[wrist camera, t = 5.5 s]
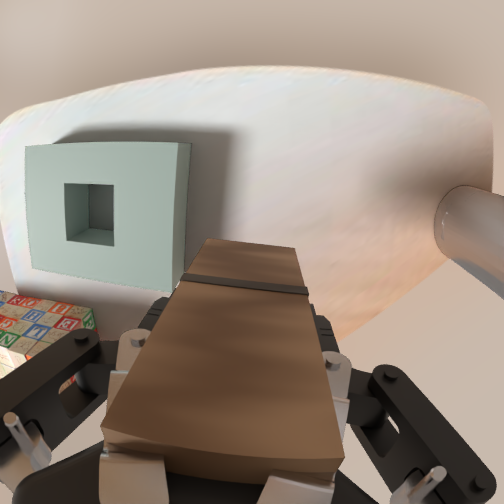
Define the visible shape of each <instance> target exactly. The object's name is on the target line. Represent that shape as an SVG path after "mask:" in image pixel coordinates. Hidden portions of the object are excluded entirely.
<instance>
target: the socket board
mask: <svg viewBox="0 0 504 504" xmlns="http://www.w3.org/2000/svg"><path fill="white" fill-rule="evenodd" d="M191 144H192V143H173V142H81V143H61V144H47V145H35V146H25V201H26V218H27V229H28V239H29V248H30V255H31V263H32V268H33V269H38V270H42V271H47V272H52V273H57V274H63V275H68V276H73V277H78V278H84V279H89V280H95V281H101V282H106V283H112V284H118V285H124V286H130V287H137V288H143V289H150V290H156V291H163V292H170V293H172V292H173V290H174V289H175V287H176V285H177V284H178V282H179V280H180V278H181V276H182V275H183V273H184V257H185V231H186V211H187V195H188V180H189V167H190V155H191ZM89 184H106V185H114V231H113V230H103V229H94V228H89Z"/></svg>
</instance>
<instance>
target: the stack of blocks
mask: <svg viewBox="0 0 504 504" xmlns="http://www.w3.org/2000/svg"><path fill="white" fill-rule="evenodd" d="M80 328H88V329H92V330H94V331H96V332H97V329H96V326H95V321H94V316H93V311H92V308H87V307H81V306H76V305H73V304H67V303H62V302H56V301H51V300H46V299H43V300H42V299H37V298H32V297H26V296H21V295H16V294H13V293H9V292H4V291H0V377H1V378H3V377H4V376H6V375H7V374H9V373H10V372H12V371H13V370H14V369H16V368H17V367H19V366H20V365H22V364H23V363H25V362H26V361H27V360H29V359H30V358H32V357H33V356H35V355H36V354H38V353H39V352H41V351H42V350H44V349H45V348H47V347H48V346H50V345H51V344H53V343H54V342H56V341H57V340H59V339H60V338H62V337H63V336H65V335H66V334H68V333H69V332H71V331H73V330H75V329H80ZM75 380H76V378H75V375H73V376H72V377H71V378H70V379H68V380H67V381H66V382H65V383H63V384H62V386H61V387H60V389H59V394H60V393H61V392H62V391H63V390H64V389H66V388H67V387H68V386H69V385H71V384H72V383H73V382H74V381H75Z"/></svg>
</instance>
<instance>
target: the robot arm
mask: <svg viewBox="0 0 504 504" xmlns="http://www.w3.org/2000/svg"><path fill="white" fill-rule="evenodd" d="M434 234H435V239H436V243H437V245H438V247H439V249H440V250H441V252H442V253H443V254H444V255H446V256H447V257H448V258H450V259H451V260H453V261H454V262H455V263H457V264H458V265H460V266H461V267H462V268H464V269H465V270H466V271H467V272H469V273H470V274H472V275H473V276H474V277H475V278H477V279H478V280H479V281H481V282H482V283H483V284H485V285H486V286H487V287H488V288H490V289H491V290H492V291H494V292H495V293H496V294H497V295H499V296H500V297H501V298H502V299H504V196H501V195H498V194H494V193H492V192H489V191H485V190H482V189H478V188H475V187H471V186H459V187H456V188H454V189H453V190H451V191H450V192H449V193H448V194H447V195H446V196H445V197H444V198H443V200H442V201H441V203H440V205H439V207H438V209H437V213H436V216H435V222H434ZM175 290H176V288H175V289H174V291H173V292H172V294H171V296H170V297H169V298H167V297H162V298H160V299H158V300H157V301H155V302H154V303H153V305H152V306H151V309H149V311H148V312H147V314H146V316H145V317H144V319H143V320H142V322H141V323H140V325H139V326H138V328H137V329H132V330H128V331H126V332H124V333H123V334H122V335H121V337H120V340H119V341H100V339H99V335H98V333H97V332H96V331H94V330H92V329H88V328H80V329H75V330H73V331H71V332H69V333H68V334H66V335H65V336H63V337H62V338H60V339H59V340H57V341H56V342H54V343H53V344H51V345H50V346H48V347H47V348H45V349H44V350H42V351H41V352H39V353H38V354H36V355H35V356H33V357H32V358H30V359H29V360H27V361H26V362H25V363H23V364H22V365H20V366H19V367H17V368H16V369H14V370H13V371H12V372H10V373H9V374H7V375H6V376H4V377H3V378H1V379H0V482H2V483H3V484H5V485H6V486H7V487H8V488H9V489H10V490H11V491H12V493H13V498H12V504H379V503H378V502H376V501H375V500H374V499H373V498H371V497H370V496H369V495H368V494H367V493H365V492H364V491H363V490H362V489H361V488H359V487H358V486H357V485H356V484H355V483H353V482H352V481H351V480H350V479H349V478H348V477H346V476H345V475H344V474H343V473H342V472H341V471H340V470H338V469H337V471H336V472H294V471H286V470H280V469H274V468H273V469H272V471H271V473H270V476H269V478H268V480H267V482H266V485H265V484H250V483H238V482H228V481H220V480H213V479H206V478H199V477H193V476H188V475H182V474H177V473H172V472H167V470H166V465H165V460H164V456H163V454H159V453H149V452H142V451H137V450H132V449H128V448H124V447H121V446H117V445H114V444H111V443H107V442H106V440H105V437H104V440H103V441H101V442H99V443H97V444H95V445H93V446H91V447H89V448H87V449H85V450H83V451H81V452H79V453H76V454H74V455H73V456H70V457H68V458H66V459H64V460H61V461H59V462H57V463H55V464H53V465H50V466H49V463H50V461H51V457H52V455H51V452H52V451H53V450H54V449H55V448H56V447H57V446H58V445H59V444H60V443H61V442H62V441H63V440H64V439H65V438H66V437H68V436H69V435H70V434H71V433H72V432H73V431H74V430H75V429H76V428H77V427H78V426H79V425H80V424H81V423H82V422H83V421H84V420H85V419H86V418H87V417H88V416H90V415H91V414H92V413H93V412H94V411H95V410H96V409H97V408H98V407H99V406H100V405H101V404H102V403H103V402H104V401H105V400H106V399H107V409H106V414H107V412H108V410H109V408H110V406H111V404H112V402H113V400H114V398H115V396H116V395H117V393H118V391H119V389H120V387H121V385H122V383H123V382H124V380H125V378H126V376H127V374H128V372H129V371H130V369H131V367H132V365H133V363H134V361H135V360H136V358H137V356H138V354H139V352H140V351H141V349H142V347H143V345H144V344H145V342H146V340H147V338H148V336H149V335H150V333H151V331H152V329H153V328H154V326H155V324H156V322H157V321H158V319H159V317H160V316H161V314H162V312H163V310H164V309H165V307H166V305H167V304H168V302H169V300H170V299H171V297H172V295H173V293H174V292H175ZM310 307H311V311H312V315H313V319H314V323H315V327H316V331H317V335H318V339H319V343H320V347H321V351H322V355H323V359H324V364H325V368H326V372H327V376H328V381H329V385H330V389H331V394H332V398H333V403H334V407H335V412H336V416H337V421H338V426H339V430H340V435H341V440H342V442H343V437H344V431H345V426H346V423H348V424H350V426H351V428H352V430H353V432H354V433H355V435H356V437H357V438H358V440H359V441H360V443H361V444H362V446H363V448H364V450H365V451H366V453H367V454H368V456H369V458H370V459H371V461H372V462H373V464H374V466H375V467H376V469H377V470H378V472H379V473H380V475H381V477H382V478H383V480H384V481H385V483H386V485H387V486H388V488H389V490H390V491H391V493H392V495H391V498H390V504H485V503H486V502H487V501H488V500H489V499H491V497H492V496H493V495H494V494H495V491H496V487H497V486H496V485H497V484H496V479H495V477H494V475H493V474H492V472H490V470H489V469H488V468H487V466H486V465H485V464H484V463H483V462H482V461H481V459H480V458H479V457H478V456H477V455H476V453H475V452H474V451H473V450H472V449H471V448H470V447H469V445H468V444H467V443H466V442H465V441H464V439H463V438H462V437H461V436H460V435H459V434H458V432H457V431H456V430H455V429H454V428H453V427H452V426H451V424H450V423H449V422H448V421H447V420H446V419H445V418H444V416H443V415H442V414H441V413H440V412H439V411H438V410H437V409H436V407H435V406H434V405H433V404H432V403H431V402H430V401H429V400H428V398H427V397H426V396H425V395H424V394H423V393H422V392H421V391H420V390H419V388H418V387H417V386H416V385H415V384H414V383H413V382H412V381H411V380H410V378H408V376H407V375H406V374H405V373H404V372H403V371H402V370H400V369H399V368H397V367H395V366H392V365H385V364H384V365H379V366H377V367H375V368H374V370H373V372H372V373H368V372H363V371H360V370H356V369H353V368H352V365H351V362H350V360H349V359H348V358H347V357H346V356H344V355H342V354H340V352H339V348H338V345H337V342H336V339H335V336H334V333H333V331H332V327H331V324H330V322H329V321H328V320H327V319H326V318H325V317H324V316H321V315H316V313H315V309H314V306H313V304H310ZM73 375H75V378H76V380H75V381H74V382H73V383H72V384H71V385H69V386H68V387H67V388H66V389H64V390H63V391H62V392H61V393H60V394H59V389H60V387H61V386H62V384H63V383H65V382H66V381H67V380H68V379H70V378H71V377H72V376H73ZM389 416H390V417H391V418H392V420H393V421H394V422H395V423H396V425H397V426H398V429H399V433H398V432H397V431H396V429H395V428H394V427H393V425H392V424H391V422H390V421H389V420H388V417H389Z"/></svg>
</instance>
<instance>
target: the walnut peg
mask: <svg viewBox="0 0 504 504" xmlns="http://www.w3.org/2000/svg"><path fill="white" fill-rule="evenodd" d="M308 296H309V292H308V289H307V287H305V285H304V281H303V277H302V273H301V270H300V266H299V263H298V259H297V255H296V252H295V248H290V247H281V246H272V245H264V244H255V243H246V242H237V241H228V240H219V239H210V238H207V239H206V241H205V242H204V244H203V246H202V247H201V249H200V251H199V252H198V254H197V255H196V257H195V259H194V260H193V262H192V264H191V265H190V267H189V268H188V270H187V272H186V273H183V275H182V276H181V278H180V283H179V285H178V287H177V288H176V290H175V292H174V293H173V295H172V297H171V299H170V300H169V302H168V304H167V305H166V307H165V309H164V310H163V312H162V314H161V316H160V317H159V319H158V321H157V322H156V324H155V326H154V328H153V329H152V331H151V333H150V335H149V336H148V338H147V340H146V342H145V344H144V345H143V347H142V349H141V351H140V352H139V354H138V356H137V358H136V360H135V361H134V363H133V365H132V367H131V369H130V371H129V372H128V374H127V376H126V378H125V380H124V382H123V383H122V385H121V387H120V389H119V391H118V393H117V395H116V396H115V398H114V400H113V402H112V404H111V406H110V408H109V410H108V412H107V414H106V416H105V418H104V419H103V421H102V423H101V425H100V427H101V430H102V432H103V435H104V437H105V440H106V442H107V443H111V444H114V445H117V446H121V447H124V448H128V449H132V450H137V451H142V452H149V453H159V454H163V456H164V460H165V465H166V470H167V472H172V473H177V474H182V475H188V476H193V477H199V478H206V479H213V480H220V481H228V482H238V483H250V484H265V485H266V482H267V480H268V478H269V476H270V473H271V471H272V469H273V468H274V469H280V470H286V471H294V472H336V471H337V469H338V468H339V466H340V465H341V463H342V462H343V460H344V458H345V456H344V451H343V445H342V440H341V435H340V430H339V426H338V421H337V416H336V412H335V407H334V403H333V398H332V394H331V389H330V385H329V381H328V376H327V372H326V368H325V364H324V359H323V355H322V351H321V347H320V343H319V339H318V335H317V331H316V327H315V323H314V319H313V315H312V311H311V307H310V304H309V300H308Z"/></svg>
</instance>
